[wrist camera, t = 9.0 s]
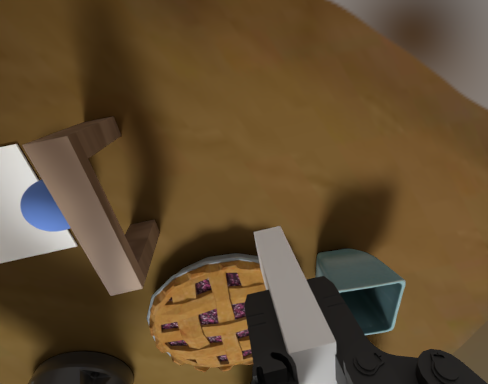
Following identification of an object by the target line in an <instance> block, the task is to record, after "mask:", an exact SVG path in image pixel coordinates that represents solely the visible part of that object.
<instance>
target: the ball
mask: <svg viewBox="0 0 488 384" xmlns="http://www.w3.org/2000/svg"><path fill="white" fill-rule="evenodd" d="M20 208H21V212H22V215H23V217H24V218H25V220H26V221H27V222H28V223H29V224H31V225H32V226H34V227H36V228H38V229H40V230H44V231H51V232H57V231H63V230H67V229H69V228H70V226H69V224H68V223H67V221H66V219H65V217H64V216H63V214H62V212H61V211H60V209H59V207H58V206H57V204H56V202H55V200H54V199H53V197H52V195H51V194H50V192H49V190H48V189H47V187H46V185H45V183H44V182H43V180H39V181H37V182H35V183H34V184H32V185H31V186H30V187H28V189H27V190H26V191H25V192H24V194H23V196H22V198H21V203H20Z"/></svg>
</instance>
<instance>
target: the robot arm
mask: <svg viewBox="0 0 488 384" xmlns="http://www.w3.org/2000/svg"><path fill="white" fill-rule="evenodd" d="M254 237H255V243H256V248H257V253H258V258H259V263H260V269H261V272H262V276H263V280H264V283H265V287H266V290H264V291H260V292H256V293H251V294H247V297H246V301H245V304H244V307H245V314H246V320H247V326H248V333H249V339H250V345H251V351H252V358H253V364H254V365H253V374H252V377H253V379H252V382H251V384H337V383H338V384H487V383H486V382H485V381H484V380H483V379H481V378H480V377H479V376H478V375H477V374H475V373H474V372H473V371H472V370H471V369H470V368H469V367H467V366H466V365H465V364H464V363H463V362H461V361H460V360H459V359H457V358H456V357H454V356H453V355H451V354H449V353H446V352H444V351H441V350H434V349H429V350H426V351H423V352H422V353H421V355H420V356H419V357H418V358H414V357H404V356H396V355H391V354H388V353H385V352H383V351H381V350H380V349H378V348H376V347H375V346H374V345H373V344H372V343H371V342H370V341H369V340H368V339H367V337H366V336H365V334H364V332H363V331H362V329H361V328H360V326H359V324H358V323H357V321H356V319H355V318H354V316H353V314H352V313H351V311H350V309H349V308H348V306H347V305H346V304H345V301H344V300H343V298H342V296H340V293H339V291H338V290H337V288H336V286H335V285H334V283H333V282H331V281H330V280H329V279H327V278H326V277H325V276H320V277H316V278H312V279H308V280H306V278H305V276H304V274H303V272H302V270H301V268H300V266H299V264H298V262H297V260H296V258H295V256H294V254H293V251H292V249H291V247H290V245H289V243H288V241H287V239H286V237H285V235H284V233H283V231H282V229H281V227H280V226H278V227H273V228H269V229H265V230H260V231H256V232H254ZM133 381H134V377H133V373H132V371H131V370H130V368H129V367H128V366H127V365H126V364H125V363H123V362H122V361H120V360H119V359H117V358H114V357H112V356H109V355H106V354H102V353H96V352H70V353H65V354H61V355H57V356H54V357H52V358H50V359H48V360H46V361H45V362H43V363H42V364H41V365H40V366H39V367H38V368H37V369H36V371H35V372H34V374H33V376H32V378H31V379H30V381H29V383H28V384H133Z"/></svg>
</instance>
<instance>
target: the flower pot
mask: <svg viewBox="0 0 488 384" xmlns="http://www.w3.org/2000/svg"><path fill="white" fill-rule="evenodd" d="M320 276H325V277H326V278H327V279H329V280H330V281H331V282H333V283H334V285H335V286H336V288H337V290H338V291H339V293H340V296H342V298H343V300H344V301H345V304H346V305H347V306H348V308H349V309H350V311H351V313H352V314H353V316H354V318H355V319H356V321H357V323H358V324H359V326H360V328H361V329H362V331H363V332H364V334H365V335H371V334H377V333H383V332H388V331H391V330H393V328H394V326H395V322H396V318H397V313H398V309H399V306H400V302H401V298H402V294H403V291H404V288H405V283H406V282H405V280H404V279H403V278H401V277H400V276H399V275H398V274H396V273H395V272H394V271H393V270H391V269H390V268H389V267H388V266H386V265H385V264H384V263H383V262H381V261H380V260H379V259H377V258H376V257H374V256H372V255H370V254H368V253H366V252H363V251H360V250H355V249H341V250H335V251H328V252H321V253H318V255H317V262H316V277H320Z"/></svg>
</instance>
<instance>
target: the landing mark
mask: <svg viewBox="0 0 488 384" xmlns="http://www.w3.org/2000/svg"><path fill="white" fill-rule="evenodd" d="M37 181H39V179H38V178H37V176H36V174H35V173H34V171H33V169H32V168H31V166H30V164H29V162H28V161H27V159H26V157H25V156H24V154H23V152H22V151H21V149H20V147H19V146H18V144H13V145H8V146H3V147H0V263H4V262H9V261H13V260H18V259H22V258H27V257H31V256H36V255H40V254H45V253H49V252H54V251H59V250H63V249H68V248H72V247H77V246H78V245H77V243H76V242H75V240H74V238H73V237H72V235H71V233H70V231H69V230H68V229H67V230H63V231H57V232H51V231H44V230H40V229H38V228H36V227H34V226H32V225H31V224H29V223H28V222H27V221H26V220H25V218H24V217H23V215H22V212H21V208H20V203H21V198H22V196H23V194H24V192H25V191H26V190H27V189H28V187H30V186H31V185H32V184H34V183H35V182H37Z"/></svg>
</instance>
